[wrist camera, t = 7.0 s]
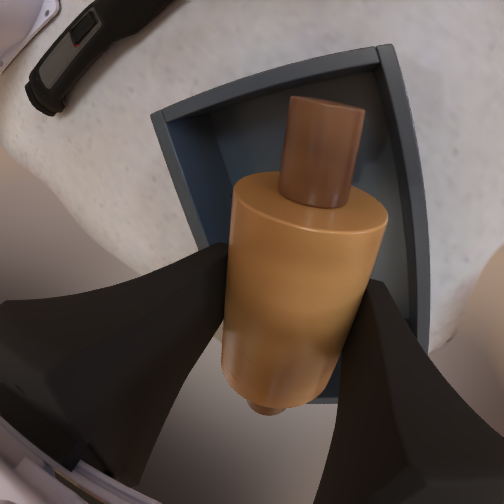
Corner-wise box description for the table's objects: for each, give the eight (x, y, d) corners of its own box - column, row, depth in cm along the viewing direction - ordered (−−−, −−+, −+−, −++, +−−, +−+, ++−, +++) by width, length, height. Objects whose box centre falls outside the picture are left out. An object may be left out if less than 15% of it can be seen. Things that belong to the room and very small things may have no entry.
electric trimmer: (252, -33, 11) (230, -56, 8) (60, 119, 18) (25, 128, 15) (219, -74, 10) (193, -98, 7) (43, 79, 17) (8, 84, 14)
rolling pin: (239, 352, 15) (203, 419, 11) (269, 89, 9) (211, 90, 6) (322, 376, 14) (302, 451, 10) (401, 115, 8) (427, 130, 5)
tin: (280, 351, 21) (263, 403, 18) (199, 105, 15) (148, 114, 11) (417, 341, 18) (423, 397, 14) (381, 57, 11) (393, 43, 8)
